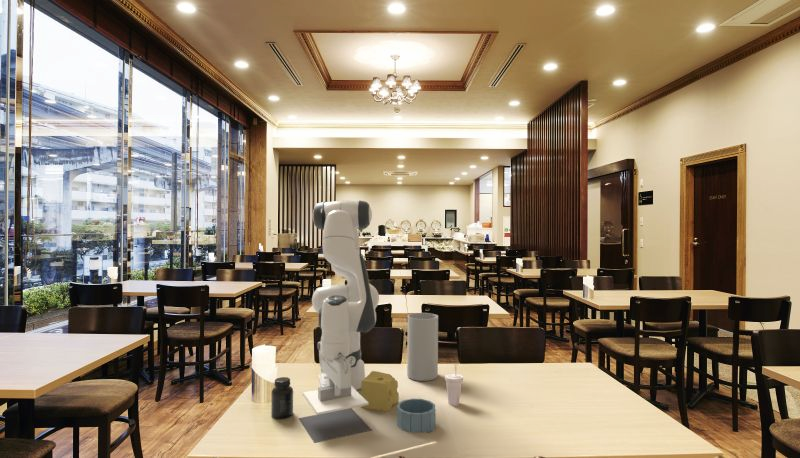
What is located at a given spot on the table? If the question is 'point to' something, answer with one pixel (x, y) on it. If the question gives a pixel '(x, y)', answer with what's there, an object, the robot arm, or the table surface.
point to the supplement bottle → (282, 399)
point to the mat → (334, 425)
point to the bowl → (416, 415)
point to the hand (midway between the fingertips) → (334, 392)
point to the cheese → (379, 391)
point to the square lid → (333, 399)
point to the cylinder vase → (422, 346)
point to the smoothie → (453, 387)
